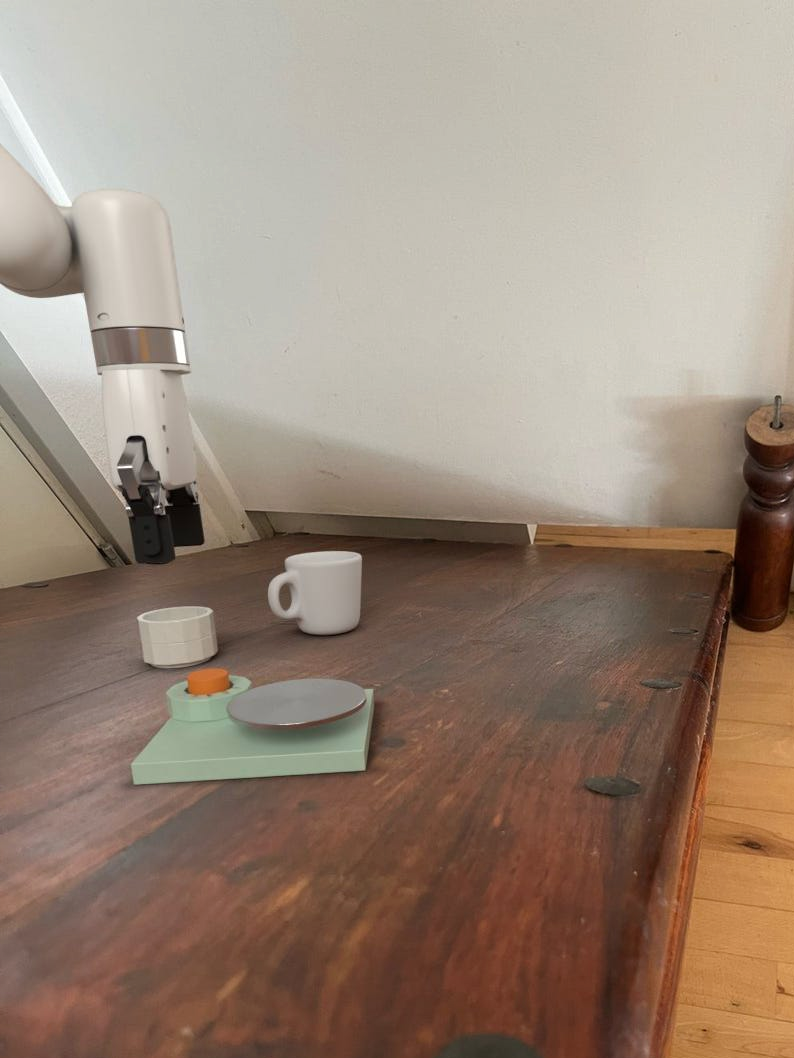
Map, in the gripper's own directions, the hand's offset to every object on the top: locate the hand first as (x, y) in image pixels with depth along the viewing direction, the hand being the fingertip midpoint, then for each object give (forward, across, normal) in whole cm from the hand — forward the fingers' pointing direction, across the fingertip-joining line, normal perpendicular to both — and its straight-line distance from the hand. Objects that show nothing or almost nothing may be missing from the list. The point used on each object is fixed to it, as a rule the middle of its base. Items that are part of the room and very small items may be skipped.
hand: (173, 553), depth 71 cm
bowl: (+10, 0, -1) cm, 10 cm away
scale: (+10, +22, +11) cm, 27 cm away
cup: (+11, -8, +11) cm, 17 cm away
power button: (+8, +19, +7) cm, 21 cm away
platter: (+7, +24, +14) cm, 28 cm away
